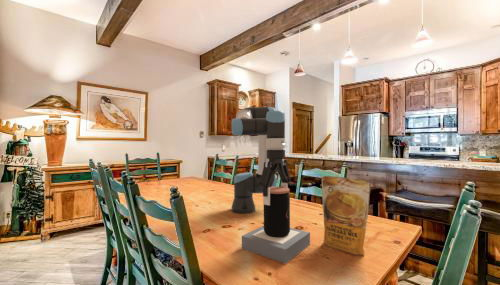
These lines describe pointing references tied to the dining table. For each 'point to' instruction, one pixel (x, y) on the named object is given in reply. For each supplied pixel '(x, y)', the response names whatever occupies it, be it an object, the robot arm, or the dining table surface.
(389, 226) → the dining table surface
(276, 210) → the coffee jar
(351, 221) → the pancake mix bag
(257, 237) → the stand
